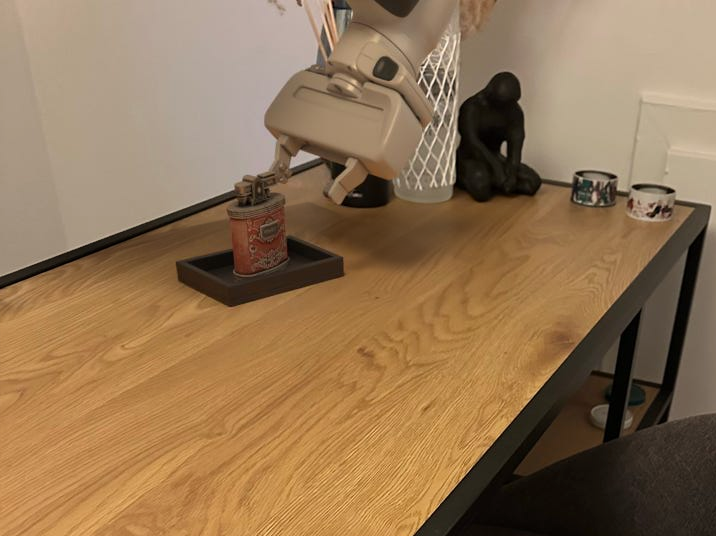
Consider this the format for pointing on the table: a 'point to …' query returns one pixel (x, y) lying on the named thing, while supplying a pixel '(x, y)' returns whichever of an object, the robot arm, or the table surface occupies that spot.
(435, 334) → the table surface
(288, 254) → the dark serving tray
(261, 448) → the table surface
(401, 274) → the table surface
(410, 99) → the robot arm
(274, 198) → the lighter
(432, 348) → the table surface
